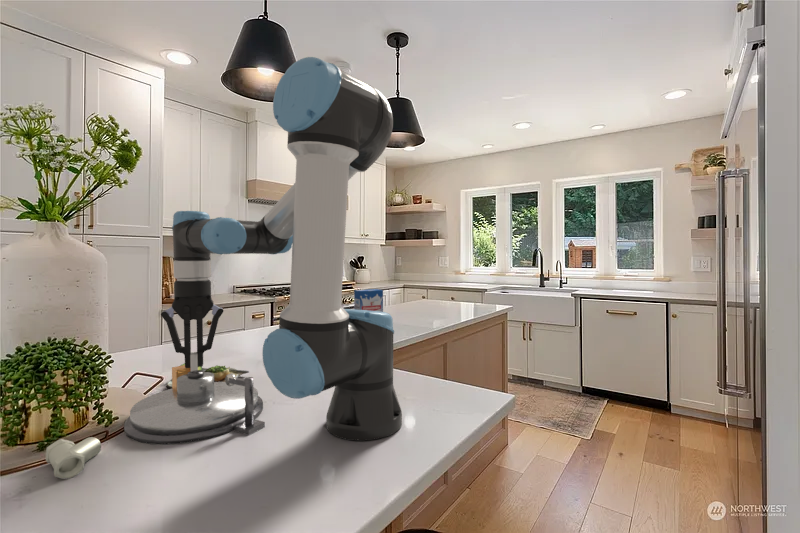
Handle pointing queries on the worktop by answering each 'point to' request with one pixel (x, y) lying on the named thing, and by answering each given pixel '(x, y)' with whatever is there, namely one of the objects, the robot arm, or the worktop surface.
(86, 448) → the pipe fitting
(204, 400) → the cast cover
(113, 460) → the worktop surface
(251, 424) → the stand
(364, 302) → the milk carton
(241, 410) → the turntable
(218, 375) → the salad plate
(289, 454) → the worktop surface
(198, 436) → the turntable base
